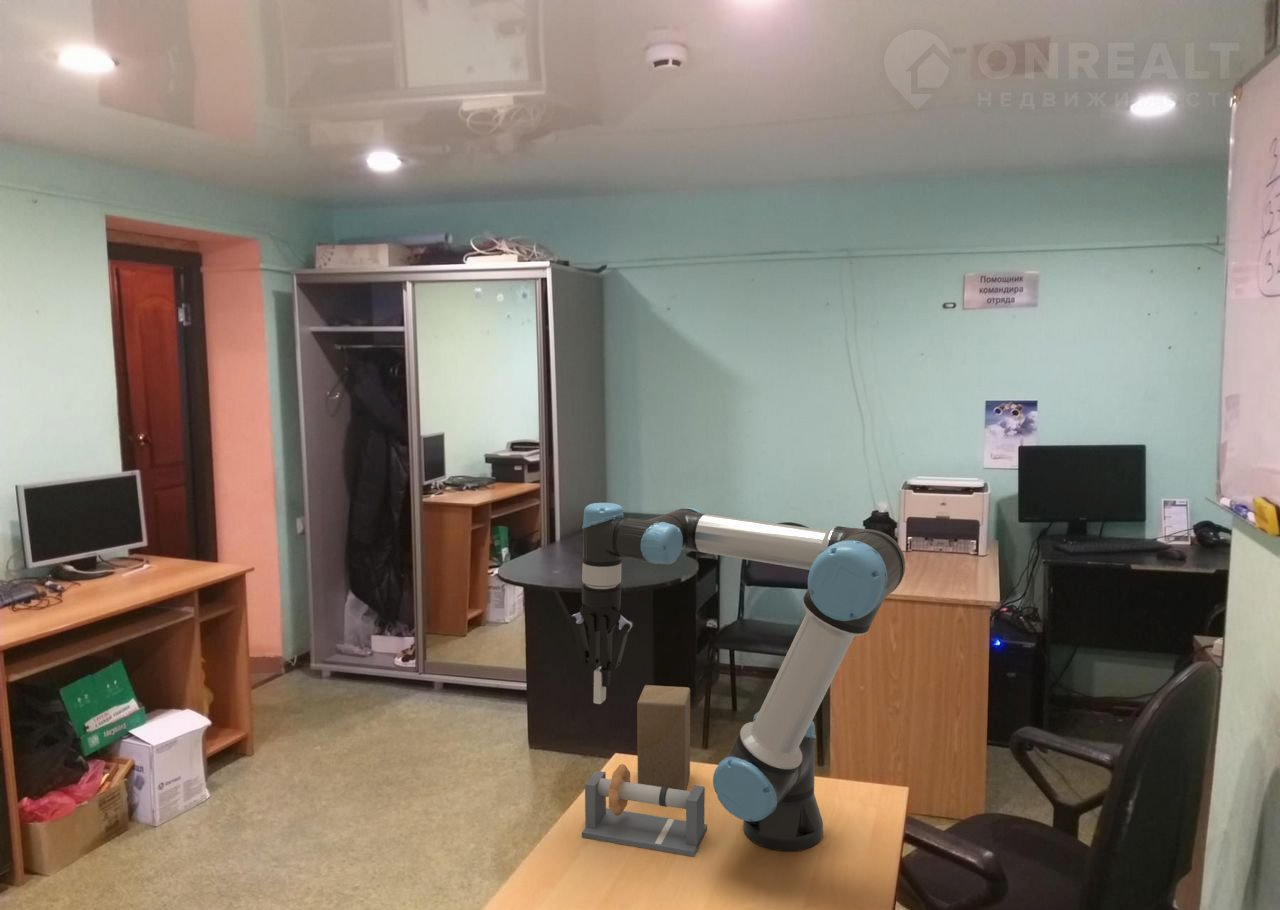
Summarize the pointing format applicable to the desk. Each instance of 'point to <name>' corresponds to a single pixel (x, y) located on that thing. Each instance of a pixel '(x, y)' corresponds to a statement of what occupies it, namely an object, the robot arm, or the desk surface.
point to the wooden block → (664, 736)
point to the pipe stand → (645, 817)
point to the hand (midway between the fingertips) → (599, 701)
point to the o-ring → (617, 777)
